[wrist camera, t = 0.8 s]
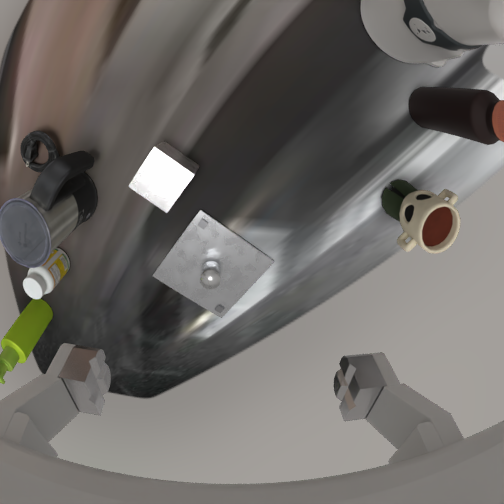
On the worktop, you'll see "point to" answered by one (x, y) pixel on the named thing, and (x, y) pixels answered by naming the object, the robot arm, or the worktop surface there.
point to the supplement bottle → (46, 274)
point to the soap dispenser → (24, 335)
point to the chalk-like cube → (164, 176)
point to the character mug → (423, 216)
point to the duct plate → (212, 249)
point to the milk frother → (47, 203)
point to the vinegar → (459, 112)
